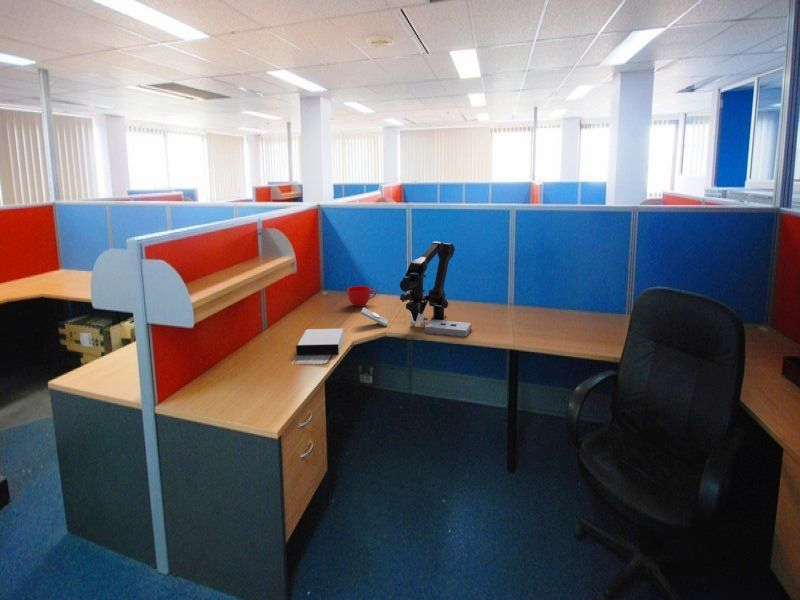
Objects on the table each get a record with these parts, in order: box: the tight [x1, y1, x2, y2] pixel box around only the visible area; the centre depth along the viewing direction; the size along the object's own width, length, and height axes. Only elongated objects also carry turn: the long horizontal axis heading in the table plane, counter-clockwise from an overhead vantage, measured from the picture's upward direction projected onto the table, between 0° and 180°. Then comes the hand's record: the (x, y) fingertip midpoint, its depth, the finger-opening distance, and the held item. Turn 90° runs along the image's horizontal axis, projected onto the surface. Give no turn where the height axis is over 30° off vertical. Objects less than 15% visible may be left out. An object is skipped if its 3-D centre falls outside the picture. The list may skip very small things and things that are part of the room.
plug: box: [409, 313, 429, 328], centre depth 236 cm, size 4×8×6 cm, turn 70°
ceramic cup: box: [346, 285, 378, 308], centre depth 276 cm, size 13×17×10 cm
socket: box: [424, 319, 472, 337], centre depth 229 cm, size 12×20×3 cm, turn 70°
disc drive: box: [295, 328, 345, 356], centre depth 212 cm, size 18×22×5 cm
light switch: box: [360, 307, 389, 327], centre depth 241 cm, size 8×6×14 cm
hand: (417, 318), depth 236 cm, fingers open, 9 cm apart
